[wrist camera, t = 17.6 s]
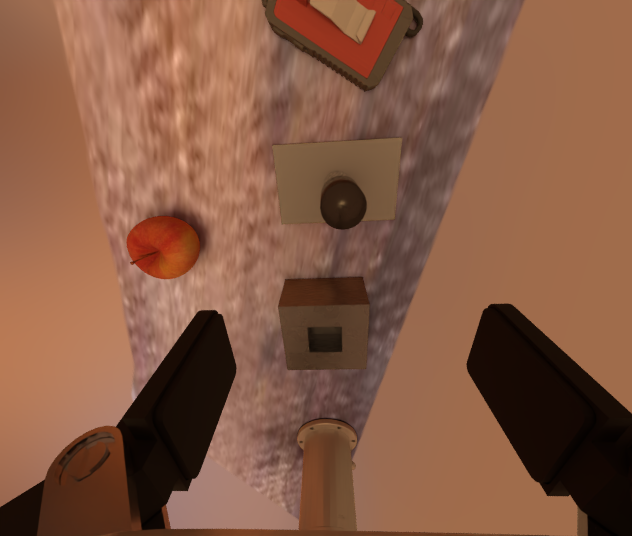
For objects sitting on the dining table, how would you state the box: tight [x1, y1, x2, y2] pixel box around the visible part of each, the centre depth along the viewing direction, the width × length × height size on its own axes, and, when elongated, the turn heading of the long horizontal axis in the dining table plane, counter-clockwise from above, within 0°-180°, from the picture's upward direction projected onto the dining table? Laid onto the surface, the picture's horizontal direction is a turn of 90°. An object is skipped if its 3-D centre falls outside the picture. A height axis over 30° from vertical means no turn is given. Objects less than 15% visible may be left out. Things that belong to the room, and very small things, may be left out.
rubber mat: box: [272, 137, 402, 224], centre depth 30 cm, size 9×14×1 cm, turn 93°
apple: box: [127, 216, 200, 279], centre depth 30 cm, size 7×7×8 cm
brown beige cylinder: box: [320, 171, 367, 229], centre depth 25 cm, size 4×4×10 cm
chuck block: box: [278, 277, 370, 370], centre depth 36 cm, size 11×11×6 cm
